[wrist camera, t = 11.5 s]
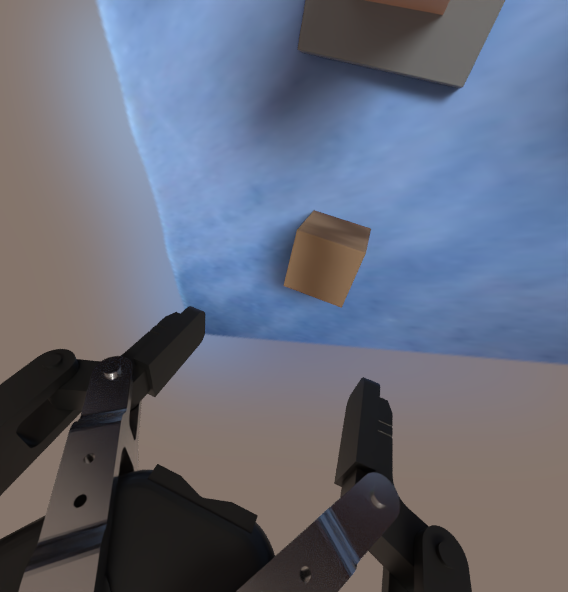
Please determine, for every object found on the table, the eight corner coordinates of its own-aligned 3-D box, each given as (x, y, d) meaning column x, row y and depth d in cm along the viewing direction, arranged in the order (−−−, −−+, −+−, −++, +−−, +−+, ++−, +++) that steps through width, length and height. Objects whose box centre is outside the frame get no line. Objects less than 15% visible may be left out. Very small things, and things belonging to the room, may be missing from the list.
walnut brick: (371, 228, 22) (365, 252, 18) (350, 277, 25) (341, 307, 21) (314, 210, 22) (297, 229, 18) (300, 259, 25) (283, 285, 21)
